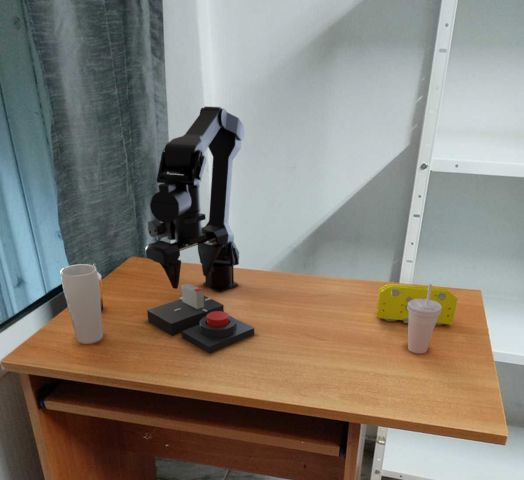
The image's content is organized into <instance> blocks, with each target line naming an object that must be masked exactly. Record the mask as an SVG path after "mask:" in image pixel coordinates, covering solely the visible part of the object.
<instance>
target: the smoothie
mask: <svg viewBox="0 0 524 480" xmlns="http://www.w3.org/2000/svg"><path fill="white" fill-rule="evenodd" d="M428 287H429V288H428V294H427V299H413V300H411V301H409V302H408V306H407V309H408V310H409V320H408V323H407V324H408V327H407V328H408V329H407V350H408V351H410V352H411V353H414V354H425V353H426V352H427V351H428V349H429V345H430V342H431V339H432V336H433V333H434V330H435V327H436V325H435V324H436V321H437V318H438V315H439V314H440V313H441V309H442V306H441V305H440V304H439V303H437V302H435V301H433V300H430V295H431V289H432V287H433V284H431V283H430V284H428Z"/></svg>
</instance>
